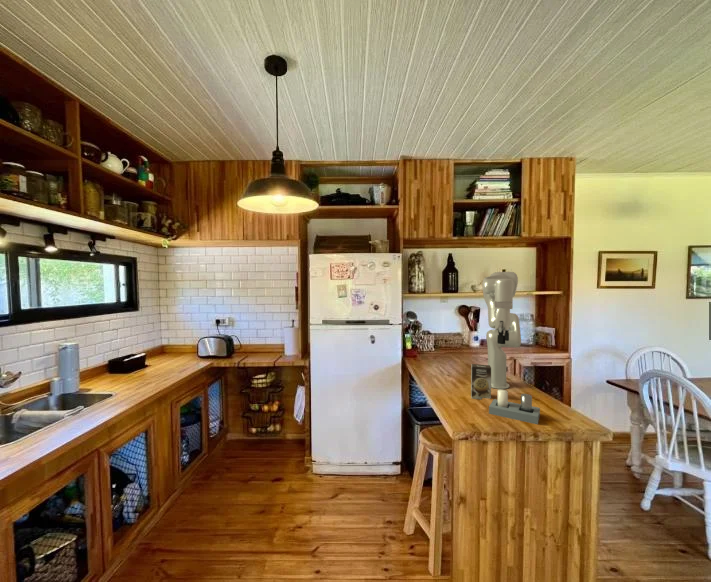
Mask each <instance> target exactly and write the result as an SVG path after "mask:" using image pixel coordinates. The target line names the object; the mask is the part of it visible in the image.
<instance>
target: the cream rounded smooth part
mask: <svg viewBox="0 0 711 582" xmlns="http://www.w3.org/2000/svg"><path fill="white" fill-rule="evenodd" d="M497 400H498V406H500V407H505V408H508V402H509V401H508V400H509V391H508V390H506V389H497Z"/></svg>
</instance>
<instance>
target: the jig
mask: <svg viewBox="0 0 711 582" xmlns="http://www.w3.org/2000/svg"><path fill="white" fill-rule="evenodd" d="M488 414H490V415H494V416H498V417H502V418H506V419H511V420H517V421H520V422H526V423H529V424H534V425H539V421H540V417H541V416H540V415H541V407H537V406H533V405H532V413H529V412H525V411H521V403H516V402H511V401H508V408H505V407H500V406H498V398H497V399H496V398H494V399H493V400H492V401H491V402H490V404H489V406H488Z"/></svg>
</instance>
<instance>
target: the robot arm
mask: <svg viewBox="0 0 711 582" xmlns="http://www.w3.org/2000/svg"><path fill="white" fill-rule="evenodd" d="M518 283H519V277H518V274H517V273H516V272H514V271H496V272H493V273H491V274H490V275H489V276H486V277H484V278H483V280H482V293H483V299H484V302H485V304H486V306H487V317H488V319H487V320H488V325H489V327H490V328H491V329H489V330H488V331H487V332H486V333H485V336H486V337H485V338H486V345H487V365H490V367H491V389H497V390H499V389H502V390H506V389H509V388H510V384H509V383H507V353H506V352H505V351H504V350H503V349H502V348H515V349H517V348H519V347H520V346H521V344H522V335H521V327H520V326H521V325H520V319H519V316H518V314H516V313H513V312H511V310H513V304H514V303H513V301H514V300H513V298H514V297H515V295H516V293H517V288H518Z"/></svg>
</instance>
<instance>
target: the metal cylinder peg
mask: <svg viewBox="0 0 711 582" xmlns="http://www.w3.org/2000/svg"><path fill="white" fill-rule="evenodd" d="M520 404H521V411H525V412H529V413H532V406H533V395H532V394H530V393H529V394H528V393H521V394H520Z"/></svg>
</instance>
